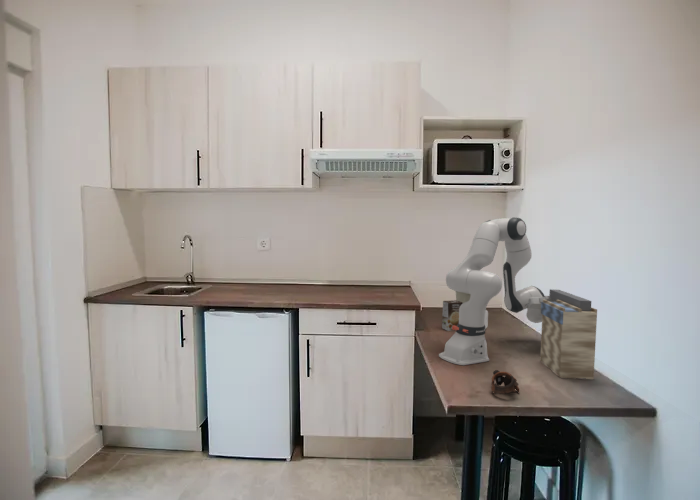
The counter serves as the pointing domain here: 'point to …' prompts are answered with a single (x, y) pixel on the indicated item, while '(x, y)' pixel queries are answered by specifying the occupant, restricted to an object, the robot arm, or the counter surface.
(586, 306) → the dark gray block
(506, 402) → the counter surface
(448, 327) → the coffee box
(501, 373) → the pottery mug
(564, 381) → the counter surface
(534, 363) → the counter surface
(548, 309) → the duct stand
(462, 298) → the canister
